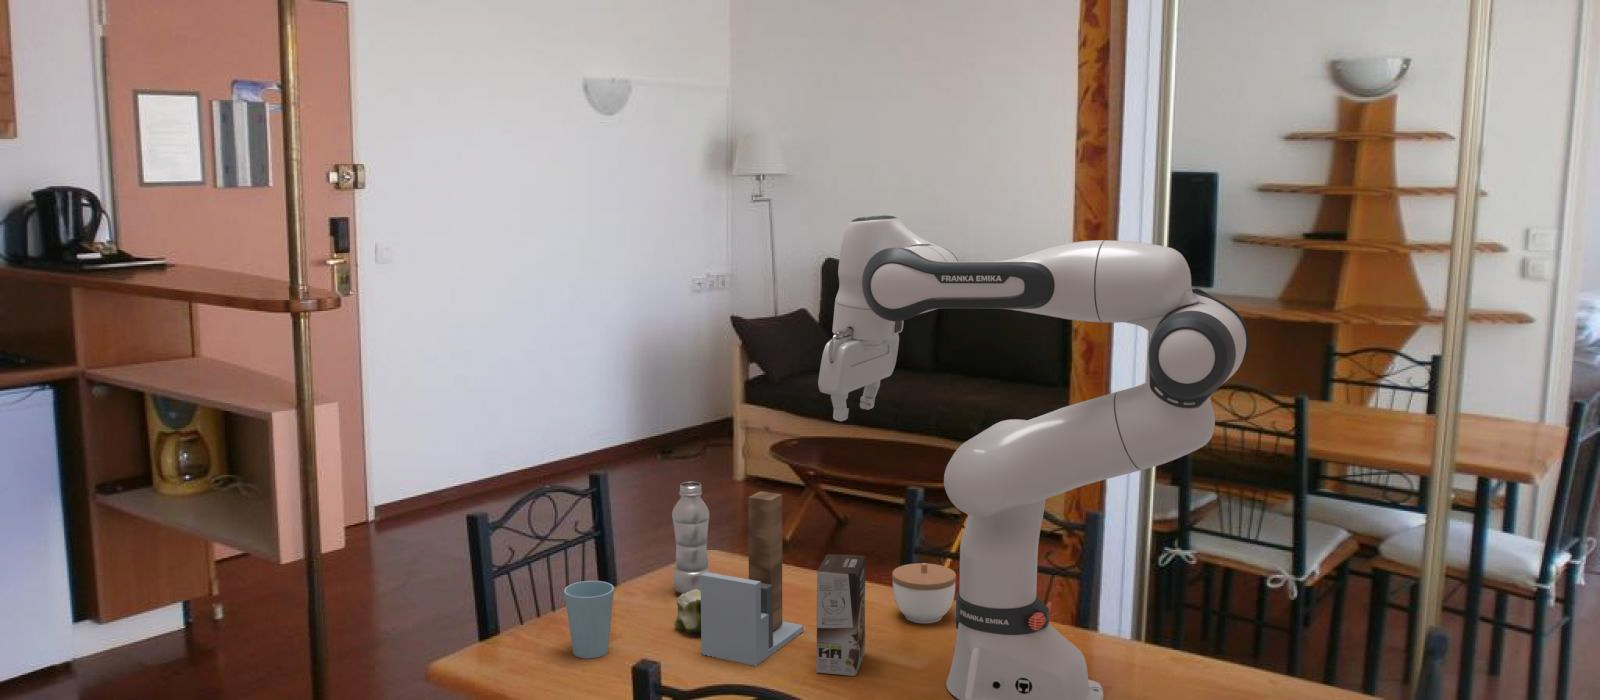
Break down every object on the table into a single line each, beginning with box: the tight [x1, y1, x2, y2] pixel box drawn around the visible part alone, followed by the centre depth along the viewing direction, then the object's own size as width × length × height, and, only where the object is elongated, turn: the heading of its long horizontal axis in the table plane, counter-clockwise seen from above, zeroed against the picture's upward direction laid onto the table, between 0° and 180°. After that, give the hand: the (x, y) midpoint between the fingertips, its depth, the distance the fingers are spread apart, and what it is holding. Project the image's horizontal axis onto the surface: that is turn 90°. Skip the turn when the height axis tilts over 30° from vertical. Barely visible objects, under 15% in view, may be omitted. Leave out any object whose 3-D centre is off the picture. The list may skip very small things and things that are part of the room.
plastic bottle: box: [671, 481, 711, 595], centre depth 222 cm, size 6×7×20 cm
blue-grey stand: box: [700, 572, 805, 667], centre depth 200 cm, size 10×16×13 cm, turn 153°
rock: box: [673, 589, 701, 635], centre depth 206 cm, size 9×9×8 cm
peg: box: [747, 491, 783, 631], centre depth 202 cm, size 4×4×22 cm
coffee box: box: [815, 553, 867, 677], centre depth 192 cm, size 9×6×16 cm
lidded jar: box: [891, 562, 957, 625], centre depth 211 cm, size 11×11×9 cm
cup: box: [563, 580, 615, 659], centre depth 196 cm, size 8×8×10 cm
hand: (853, 414), depth 188 cm, fingers open, 8 cm apart
